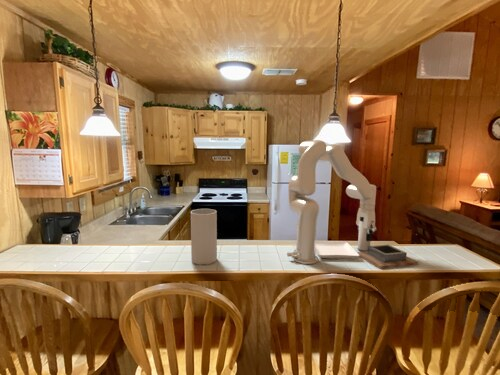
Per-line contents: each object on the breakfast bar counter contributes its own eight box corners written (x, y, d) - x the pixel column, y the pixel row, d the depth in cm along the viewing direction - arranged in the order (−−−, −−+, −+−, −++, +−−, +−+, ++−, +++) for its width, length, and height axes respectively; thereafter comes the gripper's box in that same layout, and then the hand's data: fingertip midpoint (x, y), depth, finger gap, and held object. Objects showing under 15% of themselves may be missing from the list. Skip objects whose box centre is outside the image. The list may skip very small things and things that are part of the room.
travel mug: (372, 252, 149) (375, 216, 146) (360, 251, 149) (362, 216, 146) (367, 248, 155) (370, 213, 152) (355, 247, 155) (358, 213, 153)
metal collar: (384, 262, 132) (385, 255, 131) (367, 253, 144) (367, 246, 143) (405, 260, 135) (406, 252, 134) (387, 251, 147) (387, 244, 146)
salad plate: (360, 261, 138) (360, 255, 137) (318, 260, 138) (318, 254, 138) (346, 246, 159) (346, 241, 158) (309, 246, 159) (310, 240, 159)
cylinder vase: (203, 253, 145) (202, 207, 142) (221, 258, 139) (221, 210, 135) (186, 261, 134) (185, 212, 131) (205, 267, 128) (205, 215, 125)
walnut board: (380, 269, 128) (380, 266, 128) (356, 255, 145) (356, 252, 145) (418, 264, 134) (418, 261, 133) (390, 251, 151) (390, 249, 151)
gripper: (351, 204, 156) (349, 234, 159) (372, 210, 140) (369, 244, 142) (362, 203, 158) (360, 233, 160) (384, 210, 142) (381, 243, 144)
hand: (364, 238), depth 151 cm, fingers closed on travel mug, 6 cm apart
